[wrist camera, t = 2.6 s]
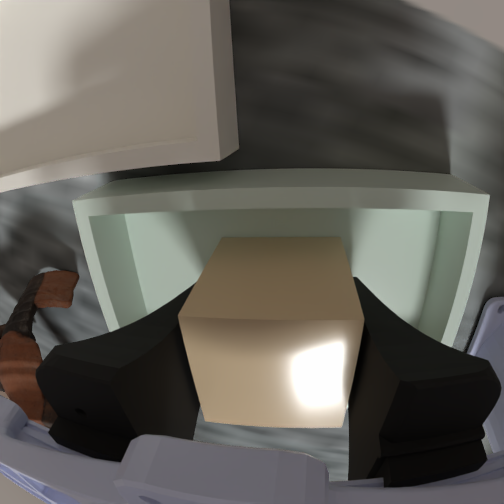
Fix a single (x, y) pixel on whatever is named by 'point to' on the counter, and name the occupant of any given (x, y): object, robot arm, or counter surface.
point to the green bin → (288, 234)
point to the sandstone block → (274, 332)
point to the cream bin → (113, 86)
